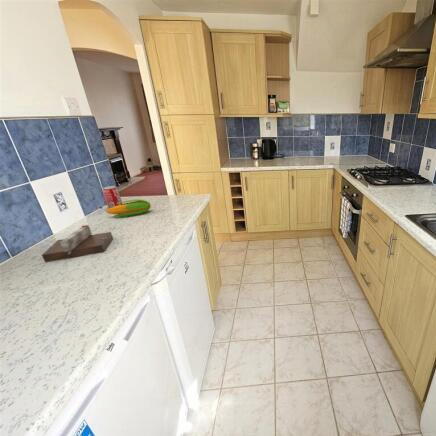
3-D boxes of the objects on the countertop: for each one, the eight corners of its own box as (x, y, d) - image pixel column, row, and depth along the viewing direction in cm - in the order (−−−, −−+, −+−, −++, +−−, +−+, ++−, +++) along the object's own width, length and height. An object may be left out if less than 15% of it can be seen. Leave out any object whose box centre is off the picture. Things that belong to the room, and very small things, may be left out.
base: (40, 266, 84) (36, 259, 83) (63, 243, 100) (60, 236, 98) (102, 255, 90) (99, 248, 88) (115, 235, 105) (113, 228, 104)
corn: (148, 199, 125) (101, 206, 117) (151, 213, 128) (106, 220, 120) (149, 196, 131) (104, 202, 123) (152, 209, 134) (109, 216, 126)
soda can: (122, 204, 142) (116, 184, 137) (124, 207, 137) (117, 187, 132) (108, 207, 138) (100, 187, 133) (109, 211, 133) (101, 189, 128)
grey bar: (70, 251, 87) (65, 240, 86) (64, 251, 87) (59, 241, 85) (92, 233, 100) (88, 224, 98) (86, 234, 100) (82, 225, 98)
